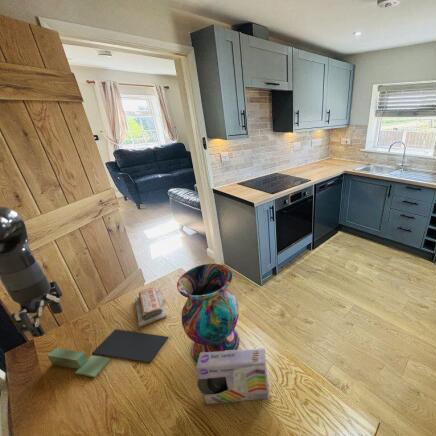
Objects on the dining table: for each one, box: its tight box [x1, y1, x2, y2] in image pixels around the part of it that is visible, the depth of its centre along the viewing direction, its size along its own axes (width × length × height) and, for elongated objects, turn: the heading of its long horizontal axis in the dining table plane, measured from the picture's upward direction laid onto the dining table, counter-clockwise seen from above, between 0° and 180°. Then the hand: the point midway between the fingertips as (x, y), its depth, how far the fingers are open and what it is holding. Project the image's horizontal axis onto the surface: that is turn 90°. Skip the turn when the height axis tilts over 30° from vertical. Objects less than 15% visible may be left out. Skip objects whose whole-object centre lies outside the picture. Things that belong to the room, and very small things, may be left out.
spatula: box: [47, 347, 111, 378], centre depth 78 cm, size 18×6×4 cm, turn 82°
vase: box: [176, 263, 240, 363], centre depth 80 cm, size 18×18×30 cm
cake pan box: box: [195, 347, 269, 405], centre depth 68 cm, size 19×5×18 cm, turn 94°
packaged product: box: [134, 287, 168, 328], centre depth 101 cm, size 18×5×10 cm
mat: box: [91, 328, 169, 364], centre depth 86 cm, size 22×10×1 cm, turn 82°
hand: (49, 323), depth 70 cm, fingers open, 8 cm apart
